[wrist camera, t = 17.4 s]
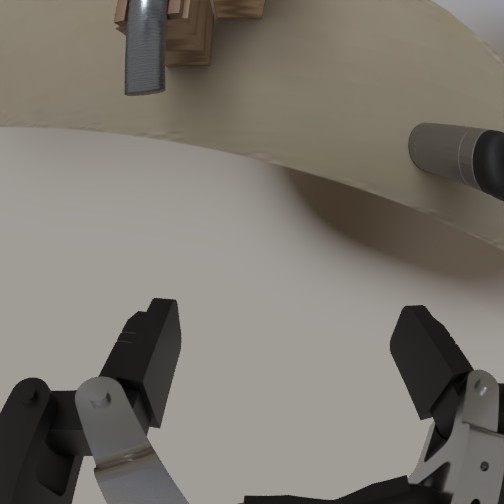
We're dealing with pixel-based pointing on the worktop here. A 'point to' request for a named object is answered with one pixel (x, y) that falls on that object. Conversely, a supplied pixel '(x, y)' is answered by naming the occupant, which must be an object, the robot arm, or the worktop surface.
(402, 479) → the robot arm
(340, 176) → the worktop surface
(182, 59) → the tall wooden post
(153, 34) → the pin
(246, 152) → the worktop surface
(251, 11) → the stand
